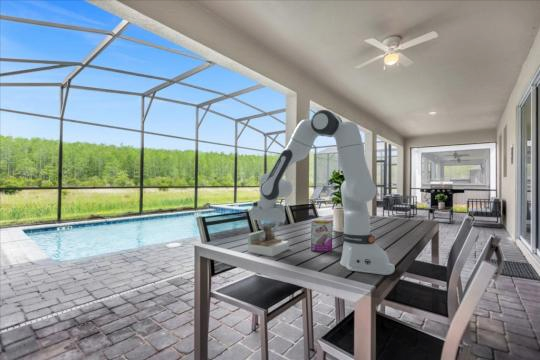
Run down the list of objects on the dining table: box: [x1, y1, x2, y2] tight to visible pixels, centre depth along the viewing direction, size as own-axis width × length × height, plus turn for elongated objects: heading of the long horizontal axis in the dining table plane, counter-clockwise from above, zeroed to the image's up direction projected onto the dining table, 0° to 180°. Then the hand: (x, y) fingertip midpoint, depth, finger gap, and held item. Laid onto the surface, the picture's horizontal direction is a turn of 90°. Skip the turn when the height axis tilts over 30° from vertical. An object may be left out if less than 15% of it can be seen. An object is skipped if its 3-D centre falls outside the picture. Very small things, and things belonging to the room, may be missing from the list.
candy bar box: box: [310, 218, 334, 253], centre depth 141 cm, size 11×5×16 cm, turn 84°
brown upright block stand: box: [253, 225, 282, 247], centre depth 141 cm, size 9×14×8 cm, turn 145°
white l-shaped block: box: [247, 230, 290, 257], centre depth 140 cm, size 15×17×9 cm
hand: (268, 229), depth 141 cm, fingers open, 8 cm apart
